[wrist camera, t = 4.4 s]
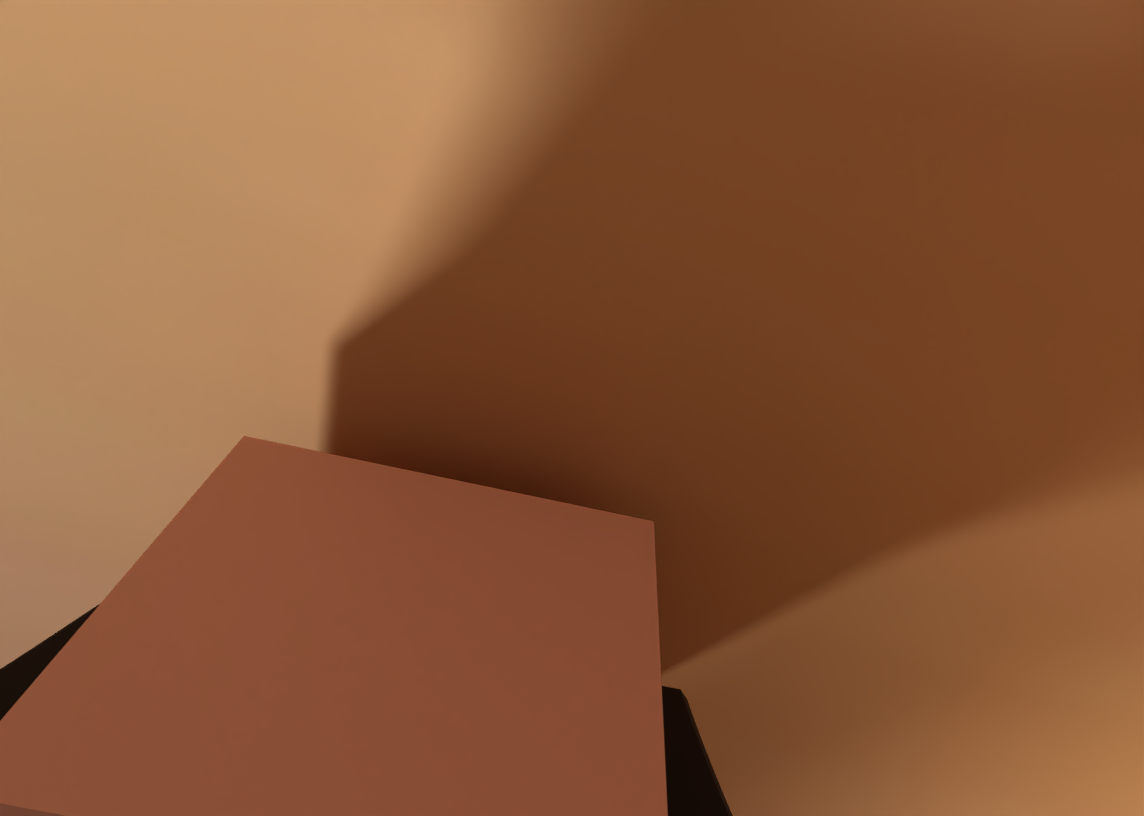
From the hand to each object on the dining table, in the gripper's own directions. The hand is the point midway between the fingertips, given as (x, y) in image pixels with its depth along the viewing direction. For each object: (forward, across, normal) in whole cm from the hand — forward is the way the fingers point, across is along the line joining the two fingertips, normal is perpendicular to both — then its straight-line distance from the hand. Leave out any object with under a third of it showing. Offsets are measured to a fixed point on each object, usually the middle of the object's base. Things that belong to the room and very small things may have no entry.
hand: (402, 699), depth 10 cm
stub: (+1, 0, 0) cm, 1 cm away
